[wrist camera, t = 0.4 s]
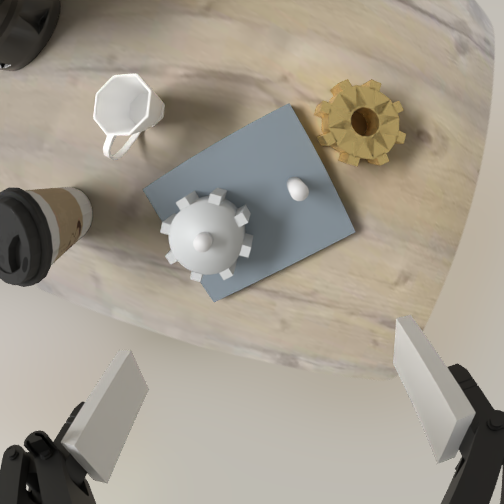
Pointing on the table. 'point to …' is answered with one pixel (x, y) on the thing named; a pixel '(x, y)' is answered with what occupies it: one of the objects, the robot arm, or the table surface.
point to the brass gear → (375, 113)
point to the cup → (126, 110)
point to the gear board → (249, 205)
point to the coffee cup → (39, 230)
